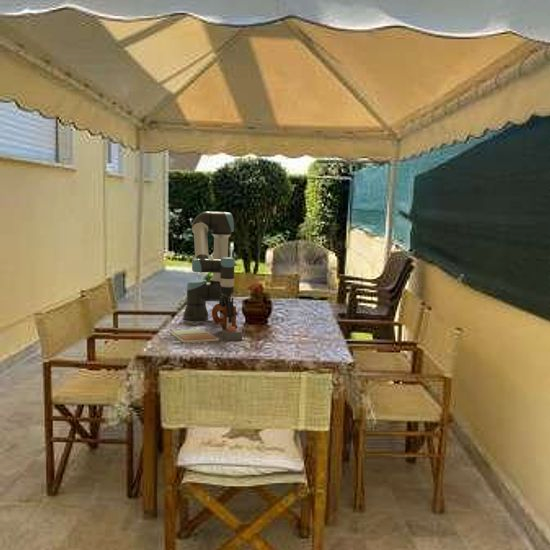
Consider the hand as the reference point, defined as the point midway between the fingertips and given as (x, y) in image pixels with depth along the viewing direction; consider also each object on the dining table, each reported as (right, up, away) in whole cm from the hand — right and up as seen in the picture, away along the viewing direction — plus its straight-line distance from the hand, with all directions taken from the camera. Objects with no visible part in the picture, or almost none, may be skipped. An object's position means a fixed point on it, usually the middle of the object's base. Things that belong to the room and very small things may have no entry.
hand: (225, 326), depth 345 cm
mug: (-1, -3, +2) cm, 4 cm away
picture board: (-16, -4, -13) cm, 21 cm away
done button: (+4, -3, -13) cm, 14 cm away
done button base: (+4, -5, -13) cm, 15 cm away
